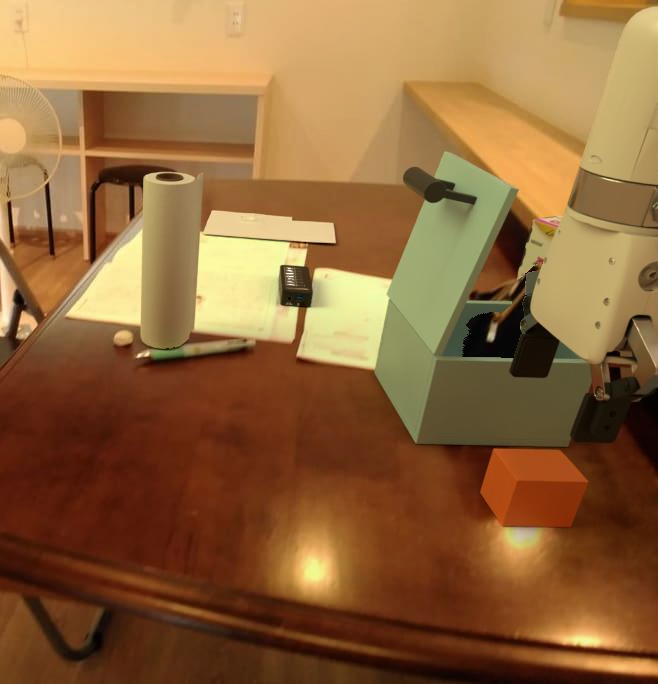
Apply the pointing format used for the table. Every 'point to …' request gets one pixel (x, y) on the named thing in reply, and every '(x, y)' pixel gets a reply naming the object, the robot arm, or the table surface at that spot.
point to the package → (533, 487)
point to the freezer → (476, 388)
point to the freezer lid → (447, 244)
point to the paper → (268, 227)
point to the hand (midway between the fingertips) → (557, 405)
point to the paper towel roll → (169, 257)
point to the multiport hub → (295, 286)
